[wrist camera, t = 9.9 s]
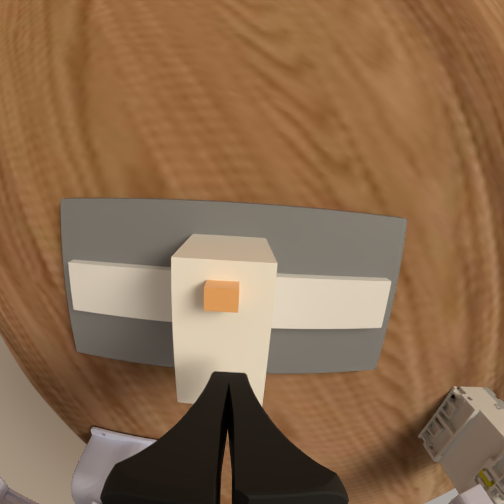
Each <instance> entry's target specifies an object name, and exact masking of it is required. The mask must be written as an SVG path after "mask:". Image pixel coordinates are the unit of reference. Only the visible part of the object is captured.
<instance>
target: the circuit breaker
mask: <svg viewBox="0 0 504 504" xmlns="http://www.w3.org/2000/svg"><path fill="white" fill-rule="evenodd" d="M453 394H454V395H455V397H454V398H451V396H452V395H453ZM446 403H447V404H446ZM444 406H445V407H444ZM443 407H444V408H443ZM441 411H442V412H441ZM430 425H431V426H430ZM427 430H428V431H427ZM421 437H422V439H423V440H424V444H423V446H424V447H425V449H426V450H427V452H428V454H429V455H430V457H431V458H432V460H433V462H440V464H441V465H442V467H443V469H444V470H445V472H446V473H447V475H448V477H449V478H450V480H451V481H452V483H453V485H454V486H455V488H456V490H457V491H458V493H459V494H460V493H462V492H464V491H466V490H468V489H470V488H472V487H474V486H476V485H477V484H481V486H482V487H483V489H484V490H485V492H486V493H487V495H488V496H489V498H490V499H491V501H492V502H493V504H504V402H503V401H502V400H501V399H500V398H499V400H498V399H497V398H496V395H495V394H494V393H493V392H492V391H491V390H490V389H489V388H482V387H459V389H457V387H456V386H453V387H452V389H451V391H450V392H449V394H448V395H447V397H446V398H445V400H444V401H443V403H442V404H441V405H440V407H439V408H438V410H437V411H436V413H435V414H434V415H433V417H432V418H431V419H430V421H429V422H428V423H427V425H426V426H425V427H424V429H423V430H422V431H421V432H420V434H419V435H418V438H421ZM429 446H432V447H433V449H430V447H429Z"/></svg>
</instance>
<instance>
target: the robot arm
mask: <svg viewBox="0 0 504 504" xmlns="http://www.w3.org/2000/svg"><path fill="white" fill-rule="evenodd" d="M227 430H228V436H229V447H230V457H231V467H232V504H348V502H349V500H348V495H347V492H346V490H345V488H344V486H343V484H342V482H341V480H340V478H339V477H338V475H337V474H336V473H335V472H333V471H331V470H329V469H327V468H326V467H324V466H322V465H320V464H319V463H317V462H315V461H314V460H313V459H311V458H310V457H308V456H307V455H306V454H304V453H303V452H302V451H301V450H300V449H298V448H297V447H296V446H295V445H294V444H293V443H291V442H290V441H289V440H288V439H287V438H286V437H285V436H284V435H283V434H282V432H281V431H280V430H279V429H278V428H277V427H276V426H275V424H274V423H273V422H272V421H271V419H270V418H269V416H268V415H267V414H266V412H265V411H264V409H263V408H262V406H261V404H260V403H259V401H258V399H257V397H256V396H255V394H254V392H253V390H252V387H251V385H250V383H249V380H248V377H247V374H245V373H240V372H219V371H214V372H213V373H212V374H211V377H210V379H209V381H208V383H207V385H206V387H205V388H204V390H203V391H202V393H201V394H200V396H199V397H198V399H197V400H196V402H195V403H194V404H193V406H192V407H191V408H190V409H189V411H188V412H187V413H186V414H185V415H184V417H183V418H182V419H181V420H180V421H179V422H178V423H177V424H176V425H175V426H174V427H173V428H172V429H170V430H169V431H168V432H167V433H166V434H165V435H163V436H162V437H161V438H160V439H158V440H154V439H148V438H142V437H137V436H132V435H127V434H122V433H118V432H113V431H109V430H105V429H101V428H97V427H92V428H91V433H92V436H91V438H90V440H89V442H88V444H87V446H86V448H85V450H84V452H83V454H82V456H81V458H80V461H79V462H78V465H77V467H76V469H75V471H74V474H73V477H72V483H71V493H72V497H73V500H74V502H75V504H220V490H221V471H222V464H223V457H224V450H225V444H226V437H227ZM0 504H38V503H36V502H34V501H32V500H30V499H28V498H26V497H25V496H23V495H21V494H19V493H17V492H15V491H14V490H12V489H10V488H9V487H8V485H7V484H6V483H5V481H4V480H3V479H2V478H1V477H0ZM449 504H493V502H492V501H491V499H490V498H489V496H488V495H487V493H486V492H485V490H484V489H483V487H482V486H481V484H477V485H476V486H474V487H472V488H470V489H468V490H466V491H464V492H462V493H460V494H459V495H457V496H456V497H455V498H454V499H452V500H451V502H450V503H449Z"/></svg>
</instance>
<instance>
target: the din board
mask: <svg viewBox="0 0 504 504" xmlns="http://www.w3.org/2000/svg"><path fill="white" fill-rule="evenodd" d="M406 225H407V219H405V218H401V217H394V216H386V215H378V214H369V213H360V212H351V211H342V210H332V209H321V208H310V207H299V206H287V205H274V204H260V203H245V202H228V201H209V200H185V199H154V198H64V199H61V236H62V253H63V266H64V276H65V285H66V293H67V300H68V307H69V313H70V319H71V325H72V330H73V336H74V341H75V345H76V350H77V352H80V353H85V354H89V355H94V356H100V357H105V358H111V359H116V360H122V361H128V362H135V363H142V364H149V365H157V366H165V367H174V368H175V363H174V347H173V327H172V295H171V257H172V256H173V254H174V253H175V252H176V251H177V250H178V249H179V248H180V247H181V246H182V245H183V244H184V243H185V242H186V240H187V239H188V238H189V237H190V236H191V235H192V234H205V235H223V236H240V237H256V238H266V240H267V242H268V244H269V246H270V248H271V250H272V252H273V255H274V257H275V259H276V261H277V263H278V264H277V275H276V285H275V296H274V305H273V315H272V325H271V334H270V343H269V352H268V361H267V370H266V373H278V374H290V373H330V372H348V371H362V370H374V369H375V368H376V365H377V362H378V358H379V355H380V352H381V348H382V345H383V341H384V337H385V333H386V330H387V326H388V322H389V318H390V313H391V309H392V305H393V300H394V296H395V291H396V286H397V281H398V276H399V270H400V265H401V259H402V253H403V246H404V240H405V233H406Z"/></svg>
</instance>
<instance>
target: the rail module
mask: <svg viewBox="0 0 504 504" xmlns="http://www.w3.org/2000/svg"><path fill="white" fill-rule="evenodd" d="M277 264H278V263H277V261H276V259H275V257H274V255H273V252H272V250H271V248H270V246H269V244H268V242H267V240H266V238H256V237H240V236H223V235H205V234H192V235H191V236H190V237H189V238H188V239H187V240H186V242H185V243H184V244H183V245H182V246H181V247H180V248H179V249H178V250H177V251H176V252H175V253H174V254H173V256H172V257H171V295H172V327H173V347H174V363H175V377H176V389H177V400H178V402H181V403H191V404H194V403H195V402H196V400H197V399H198V397H199V396H200V394H201V393H202V391H203V390H204V388H205V387H206V385H207V383H208V381H209V379H210V377H211V374H212V373H213V372H214V371H219V372H240V373H245V374H247V377H248V380H249V383H250V385H251V387H252V390H253V392H254V394H255V396H256V397H257V399H258V401H259V403H260V404H261V406H262V403H263V395H264V386H265V378H266V370H267V361H268V352H269V343H270V334H271V325H272V315H273V305H274V296H275V285H276V275H277Z"/></svg>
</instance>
